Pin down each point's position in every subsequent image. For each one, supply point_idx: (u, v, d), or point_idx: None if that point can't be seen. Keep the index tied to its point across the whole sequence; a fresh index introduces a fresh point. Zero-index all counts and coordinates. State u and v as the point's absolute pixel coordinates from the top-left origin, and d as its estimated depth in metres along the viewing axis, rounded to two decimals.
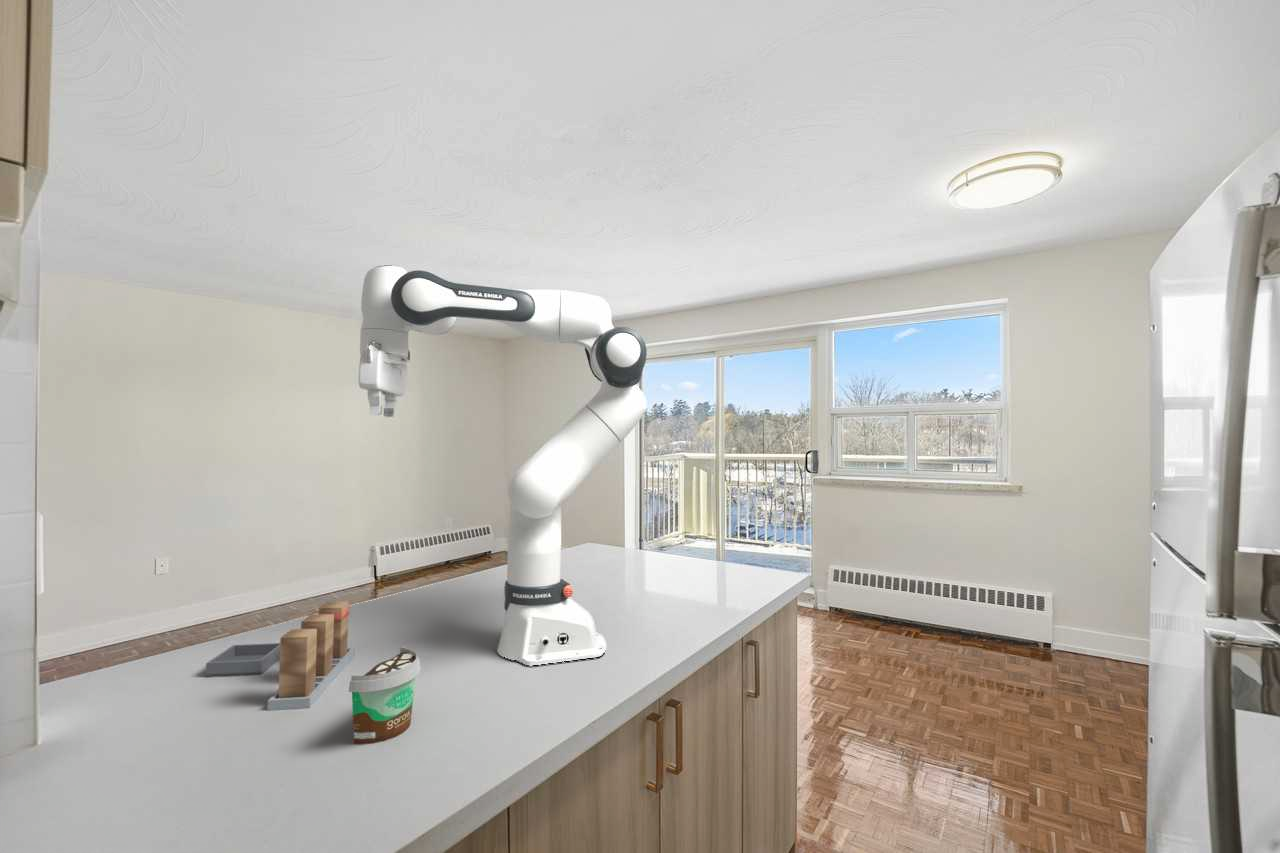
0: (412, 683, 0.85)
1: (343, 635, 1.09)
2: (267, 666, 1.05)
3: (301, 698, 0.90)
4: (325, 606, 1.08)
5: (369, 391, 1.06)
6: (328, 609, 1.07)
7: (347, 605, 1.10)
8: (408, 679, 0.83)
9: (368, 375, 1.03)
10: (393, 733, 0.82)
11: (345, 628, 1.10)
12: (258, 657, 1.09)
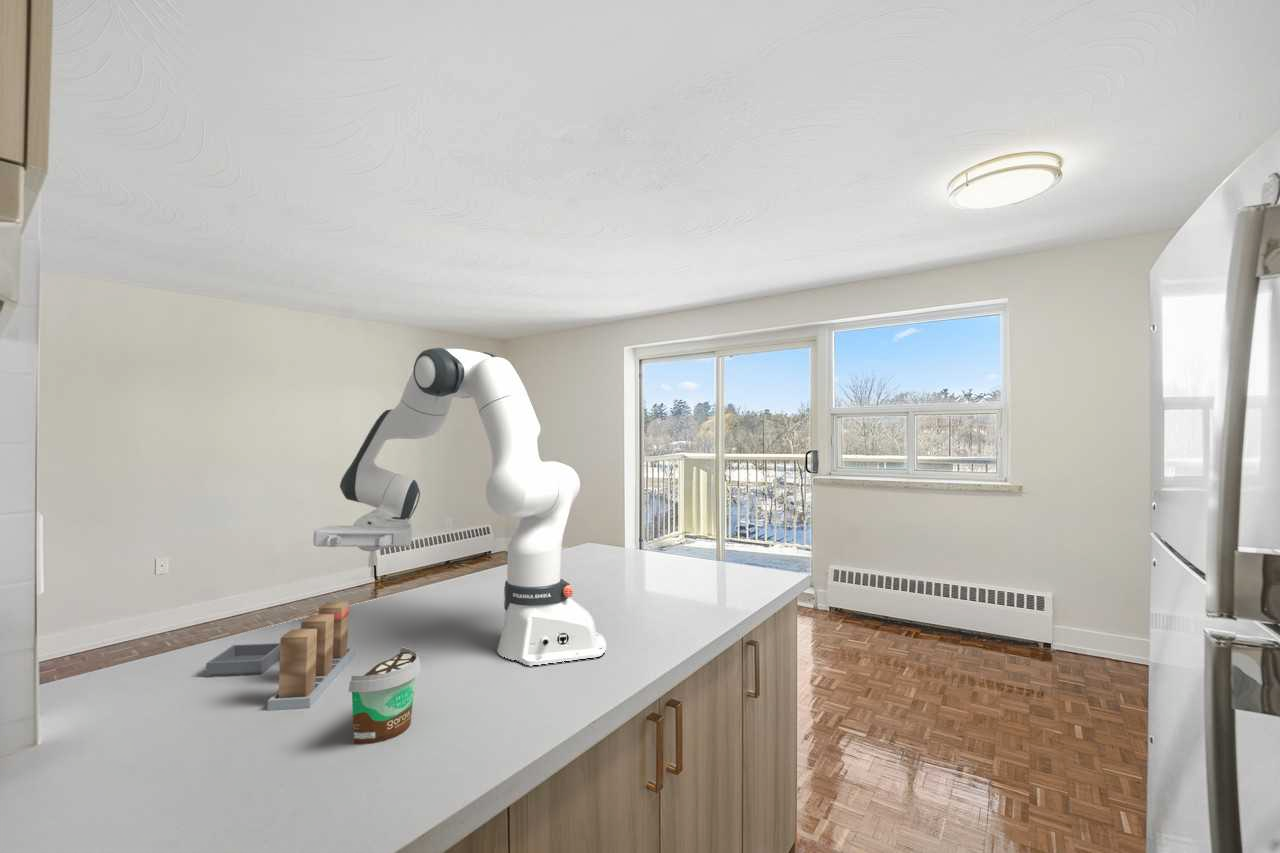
0: (412, 683, 0.85)
1: (343, 635, 1.09)
2: (267, 666, 1.05)
3: (301, 698, 0.90)
4: (325, 606, 1.08)
5: None
6: (328, 609, 1.07)
7: (347, 605, 1.10)
8: (408, 679, 0.83)
9: None
10: (393, 733, 0.82)
11: (345, 628, 1.10)
12: (258, 657, 1.09)
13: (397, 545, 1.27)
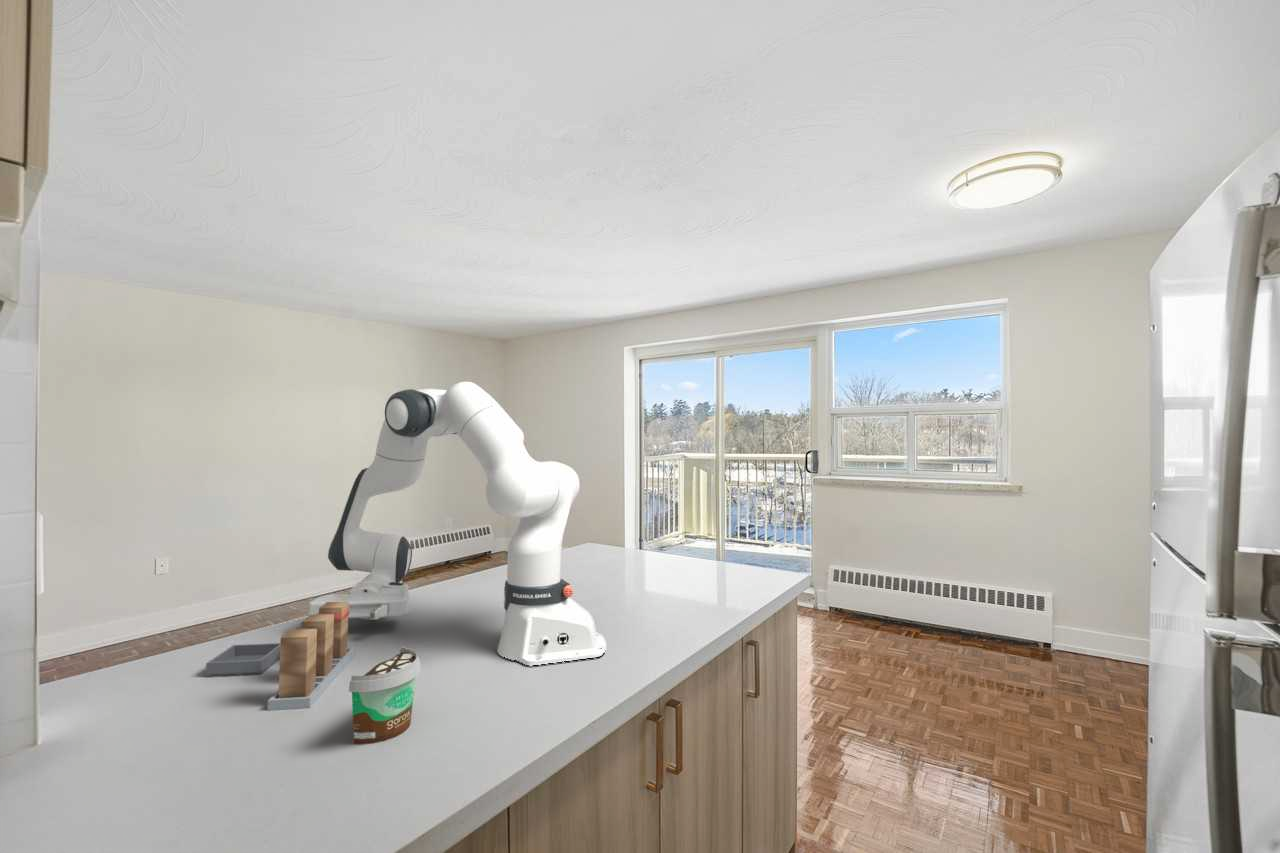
0: (412, 683, 0.85)
1: (343, 635, 1.09)
2: (267, 666, 1.05)
3: (301, 698, 0.90)
4: (325, 606, 1.08)
5: None
6: (328, 609, 1.07)
7: (347, 605, 1.10)
8: (408, 679, 0.83)
9: None
10: (393, 733, 0.82)
11: (345, 628, 1.10)
12: (258, 657, 1.09)
13: (393, 615, 1.23)
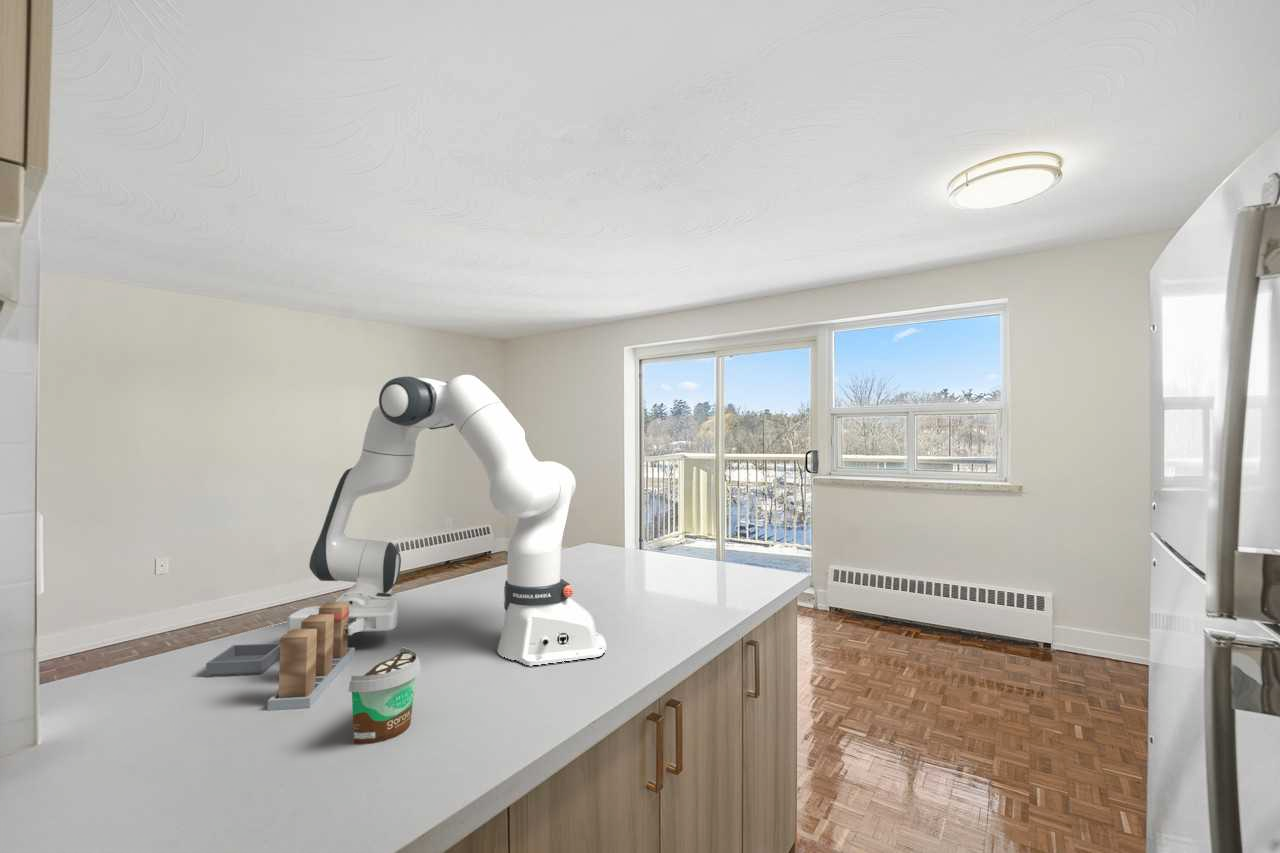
0: (412, 683, 0.85)
1: None
2: (267, 666, 1.05)
3: (301, 698, 0.90)
4: (325, 606, 1.08)
5: None
6: (328, 609, 1.07)
7: (347, 605, 1.10)
8: (408, 679, 0.83)
9: None
10: (393, 733, 0.82)
11: None
12: (258, 657, 1.09)
13: (380, 629, 1.14)
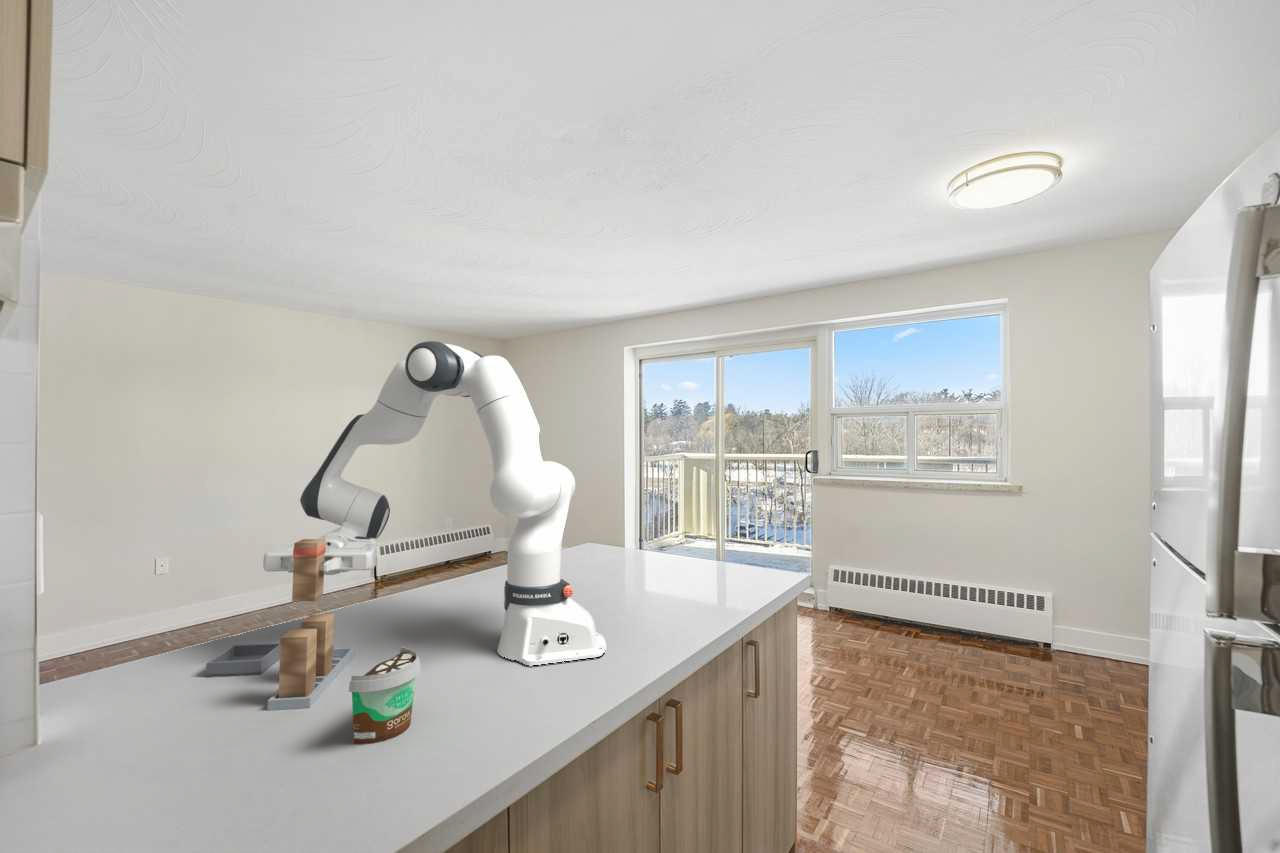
0: (412, 683, 0.85)
1: None
2: (267, 666, 1.05)
3: (301, 698, 0.90)
4: (301, 542, 1.07)
5: None
6: (303, 544, 1.06)
7: (323, 542, 1.10)
8: (408, 679, 0.83)
9: None
10: (393, 733, 0.82)
11: None
12: (258, 657, 1.09)
13: (357, 569, 1.13)
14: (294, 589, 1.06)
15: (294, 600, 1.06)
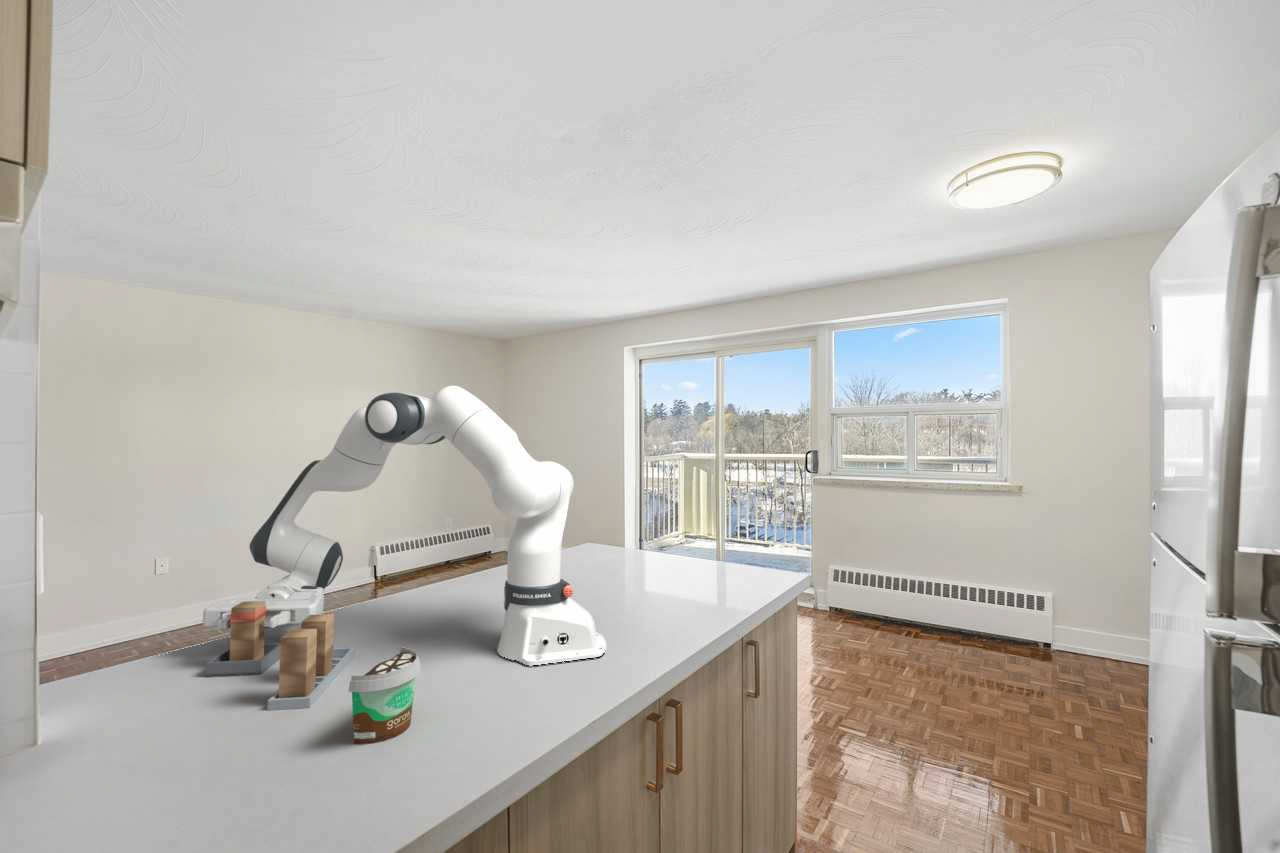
0: (412, 683, 0.85)
1: (258, 635, 1.06)
2: (267, 666, 1.05)
3: (301, 698, 0.90)
4: (239, 606, 1.05)
5: None
6: (241, 609, 1.04)
7: (263, 605, 1.08)
8: (408, 679, 0.83)
9: None
10: (393, 733, 0.82)
11: (261, 628, 1.07)
12: None
13: (300, 622, 1.11)
14: (231, 655, 1.04)
15: None
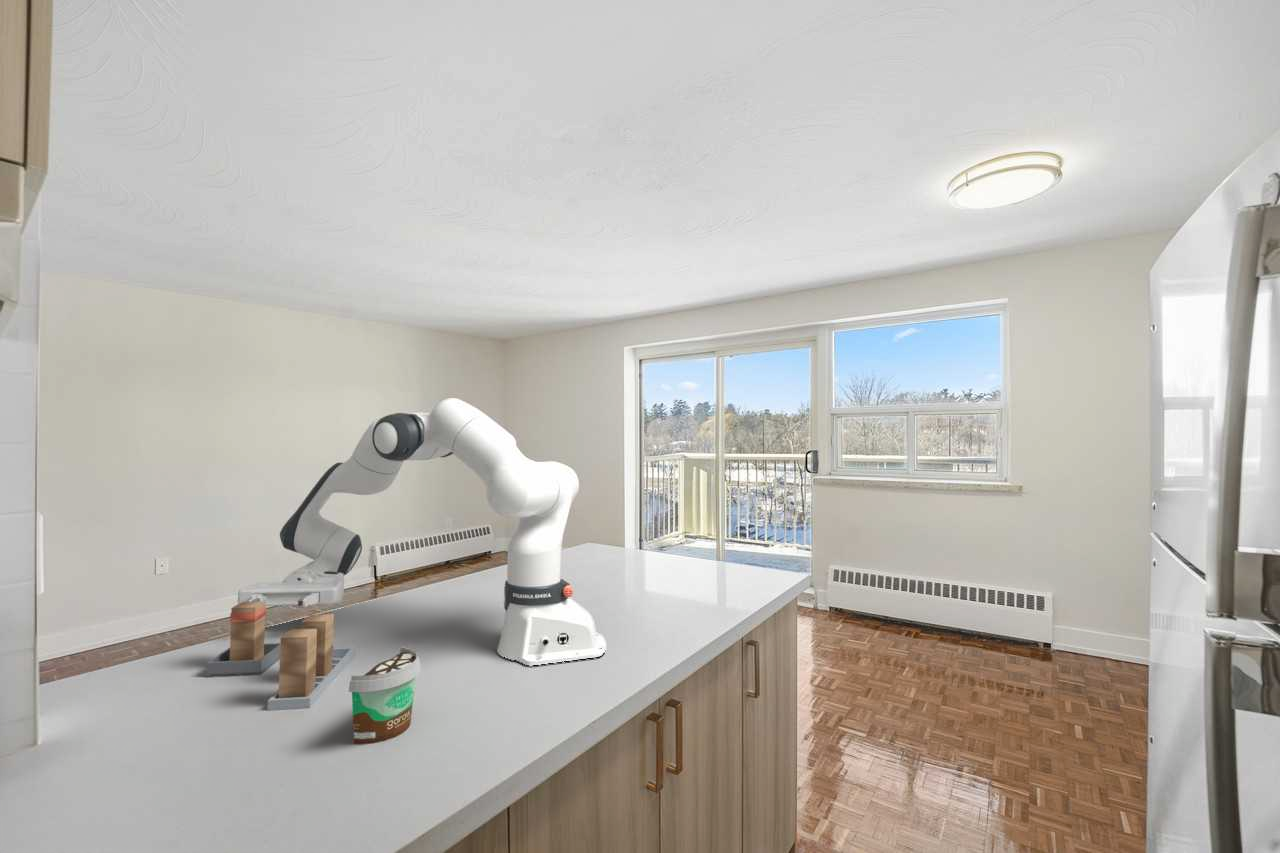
0: (412, 683, 0.85)
1: (258, 635, 1.06)
2: (267, 666, 1.05)
3: (301, 698, 0.90)
4: (239, 606, 1.05)
5: None
6: (241, 609, 1.04)
7: (263, 605, 1.08)
8: (408, 679, 0.83)
9: None
10: (393, 733, 0.82)
11: (261, 628, 1.07)
12: None
13: (324, 603, 1.24)
14: (231, 655, 1.04)
15: None
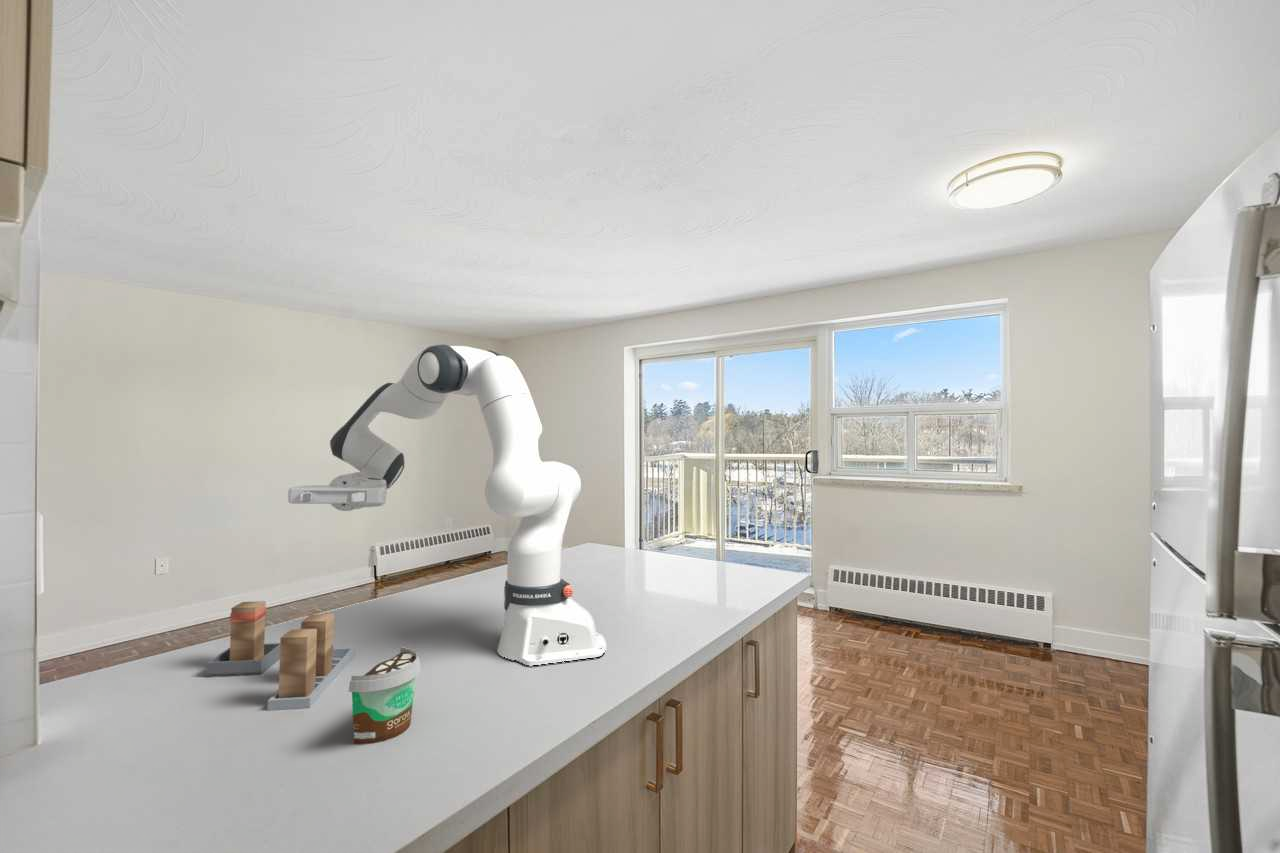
0: (412, 683, 0.85)
1: (258, 635, 1.06)
2: (267, 666, 1.05)
3: (301, 698, 0.90)
4: (239, 606, 1.05)
5: None
6: (241, 609, 1.04)
7: (263, 605, 1.08)
8: (408, 679, 0.83)
9: None
10: (393, 733, 0.82)
11: (261, 628, 1.07)
12: None
13: (370, 502, 1.29)
14: (231, 655, 1.04)
15: None
